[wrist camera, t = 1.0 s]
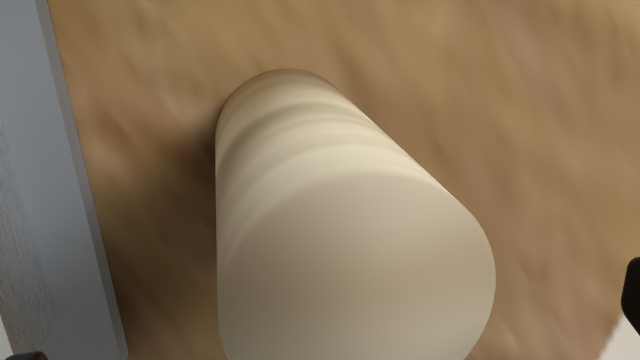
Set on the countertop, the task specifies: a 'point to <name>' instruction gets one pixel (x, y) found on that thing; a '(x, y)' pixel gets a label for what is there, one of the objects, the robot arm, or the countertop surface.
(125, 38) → the countertop surface
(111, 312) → the socket plate
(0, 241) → the socket collar
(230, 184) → the beech peg
